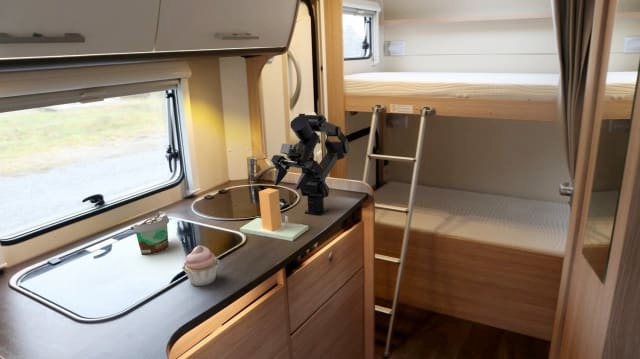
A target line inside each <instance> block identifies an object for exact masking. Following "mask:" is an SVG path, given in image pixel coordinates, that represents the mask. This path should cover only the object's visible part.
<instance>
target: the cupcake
mask: <svg viewBox="0 0 640 359" xmlns="http://www.w3.org/2000/svg"><path fill="white" fill-rule="evenodd" d="M219 262H220V259H217V257H216V256H215V254H214V253H213V252H211V250H210V249H209V248H208V247H206V246H203V245H198V246H195V247H194V248H193V249H192V251H191V253H190V252H189V254H187V256H186V257H185V262H184V263H183V266H182V267H181V269H182V270H183V271H184V272H185V274H186V276H187V278H188V280H189V282H190V284H191V285H192V286H194V287H203V286H204V287H205V286H207V285H210V284H212V283H214V281H215V280H216V277H217V276H216V275H217V268H218V267H219Z"/></svg>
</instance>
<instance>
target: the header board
mask: <svg viewBox="0 0 640 359" xmlns="http://www.w3.org/2000/svg"><path fill="white" fill-rule="evenodd" d="M282 217H283V216H281V226H282V227H281V228H279V229H277V230H274V231H272V232H271V231H268V230H265V229H262V220H261V217H256V218H254V219H253V220H251V221H249V222H247V223H246V224H244V225H243V226H241V227H239V232H241V233H245V234H252V235H256V236H264V237H268V238H272V239H273V238H274V239H279V240H285V241H290V242H293V241H295V240H296V239H298V237H300V236H301V235H302V234H304V233H306V231H308V230H309V225H307V224H306V225H305V224H301V223H292V222H289V217H288V215H285V216H284V221H283V219H282Z"/></svg>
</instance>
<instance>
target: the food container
mask: <svg viewBox="0 0 640 359" xmlns="http://www.w3.org/2000/svg"><path fill="white" fill-rule="evenodd" d="M169 222H170V218H169V216H168V215H167V214H166V212H164V211H158V214H157V215H155V216H154V217H151V218H148V219H146V220H145V221H144V222H142V223H141V224H133V233H135V235H136V238H137V242H138V246H139V247H138V248H139V249H140V254H141V255H142V256H149V255H155V254H160V253H162V252H164V251H166V250H167V249H168V248H169V231H168V224H169Z"/></svg>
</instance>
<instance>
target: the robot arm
mask: <svg viewBox="0 0 640 359" xmlns="http://www.w3.org/2000/svg"><path fill="white" fill-rule="evenodd" d="M289 126H290V129H291V130H292V132H293V133H294V134H295V136H296V138H297V139H299V141H298V142H296V143H295V144H289V143H282V144H281V148H280V152H279V153H280V154H274V155H272V156H271V159H270V162H271V163H272V165H274V167H275V175H274V176H275V177H274V186H278V185H279V184H280V183H281V182H282V180H283V179H284V178H285V177H286V175H287V174H288V170H289V169H290V168H295V169H296V168H297V169H301V173H300V176H299V179H298V180H297V182H296V185H295V188H294V189H295V190H296V191H299V190H300V194H301V197H306V198H307V209H306V210H305V211H304V214H306V215H307V214H308V215H315V216H322V215H323V214H325V213H326V212H327V211H329V208H328V207H325V198H328V197H329V195H330V187H329V186H328V184H327V182H326V179H327V177H328V175H329V174H330V173H331V171H332V170H333V168H334V167H335V165H336V163H337V162H338V161H340V160H342V159H344V158H345V157H347V155H348V154H349V152H350V146H349V140H348V137H347V136H345V134H344V133H343V132H342V128H341V126H339V125H335V124H333V123H331V122H329V121H327V118H326V117H325V115H323V114H306V113H298V116H296V117H294V118H293V119H291V121H290V125H289ZM318 133H321V134H324V135H326V139H325V142H324V147H325V149H326V153H325V155H324V156H323V158H322V159H321V161H320V162H318V161H317V160H314V159H310V158H314V156H315V154H314V151H315V149H316V147H317V144H319V145H320V144H321V142H322V141H321V136H320V135H319V134H318ZM329 137H337V139H338V140H339V141H338V140H337V141H336V140H330V138H329ZM281 154H283V155H281ZM284 155H285V156H286V157H287V158H286V157H285V156H284ZM288 159H289V160H288Z"/></svg>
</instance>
